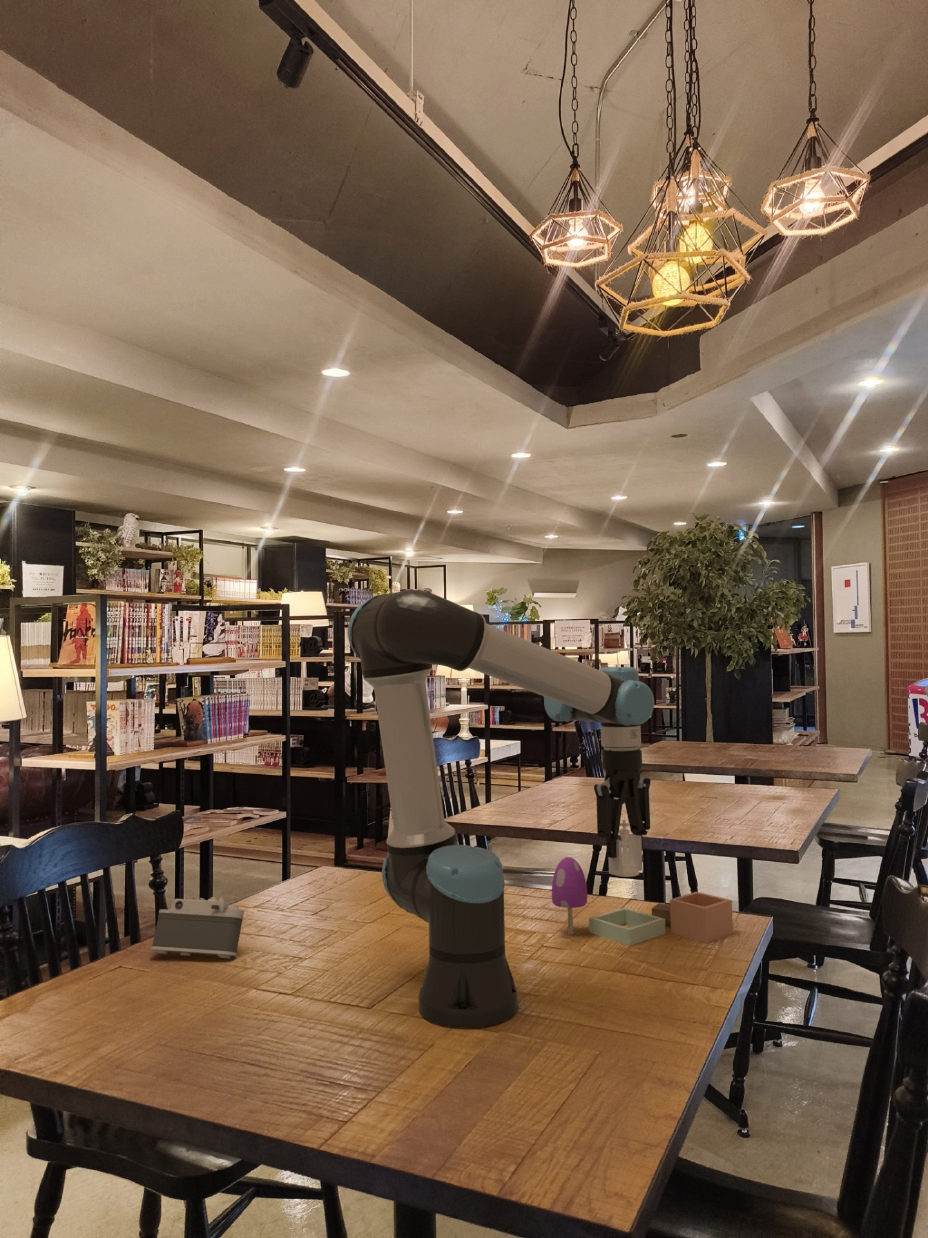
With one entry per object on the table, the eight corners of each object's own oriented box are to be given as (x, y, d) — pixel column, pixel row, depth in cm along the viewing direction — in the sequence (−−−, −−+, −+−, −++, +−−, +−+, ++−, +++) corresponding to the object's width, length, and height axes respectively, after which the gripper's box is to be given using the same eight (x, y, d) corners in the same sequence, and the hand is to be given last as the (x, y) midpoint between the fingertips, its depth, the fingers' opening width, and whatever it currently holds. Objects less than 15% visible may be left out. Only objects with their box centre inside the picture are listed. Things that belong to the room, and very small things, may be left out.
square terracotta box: (706, 948, 158) (705, 908, 158) (671, 937, 164) (669, 899, 164) (733, 938, 163) (731, 900, 163) (697, 928, 169) (696, 891, 169)
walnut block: (672, 932, 167) (671, 911, 167) (652, 929, 169) (651, 908, 170) (679, 926, 171) (678, 906, 171) (659, 923, 173) (658, 903, 173)
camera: (230, 957, 155) (241, 897, 160) (145, 951, 157) (158, 892, 162) (247, 962, 163) (257, 905, 168) (166, 956, 165) (178, 900, 170)
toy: (590, 943, 162) (588, 861, 162) (554, 943, 162) (552, 862, 162) (586, 931, 168) (584, 853, 169) (551, 932, 169) (549, 853, 169)
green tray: (629, 950, 158) (629, 930, 158) (589, 936, 165) (589, 918, 166) (665, 937, 164) (665, 919, 164) (625, 925, 172) (624, 907, 172)
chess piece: (639, 877, 162) (636, 822, 163) (612, 876, 163) (610, 822, 164) (639, 870, 167) (637, 817, 167) (613, 870, 168) (611, 817, 168)
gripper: (603, 754, 158) (608, 884, 157) (667, 745, 169) (672, 867, 168) (574, 751, 163) (578, 876, 163) (637, 743, 175) (641, 860, 174)
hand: (625, 871), depth 165 cm, fingers closed on chess piece, 5 cm apart
